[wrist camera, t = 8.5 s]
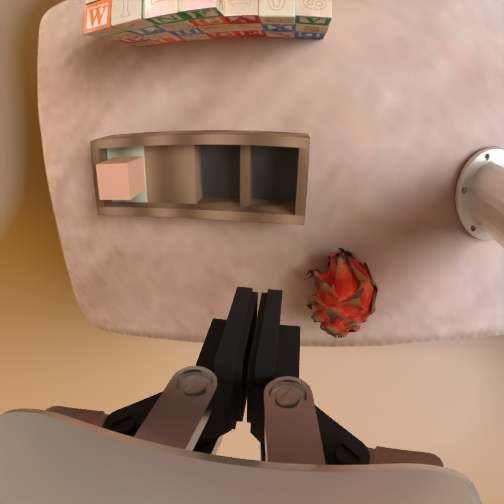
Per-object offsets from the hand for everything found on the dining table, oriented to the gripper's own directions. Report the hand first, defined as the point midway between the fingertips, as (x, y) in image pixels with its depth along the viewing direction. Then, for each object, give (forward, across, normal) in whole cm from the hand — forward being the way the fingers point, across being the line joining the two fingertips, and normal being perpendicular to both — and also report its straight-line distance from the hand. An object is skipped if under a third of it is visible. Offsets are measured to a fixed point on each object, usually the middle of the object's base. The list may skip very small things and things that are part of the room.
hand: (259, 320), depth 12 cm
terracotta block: (+24, +18, 0) cm, 30 cm away
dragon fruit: (+27, -8, +14) cm, 31 cm away
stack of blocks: (+27, +7, -19) cm, 34 cm away
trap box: (+27, +10, 0) cm, 29 cm away
